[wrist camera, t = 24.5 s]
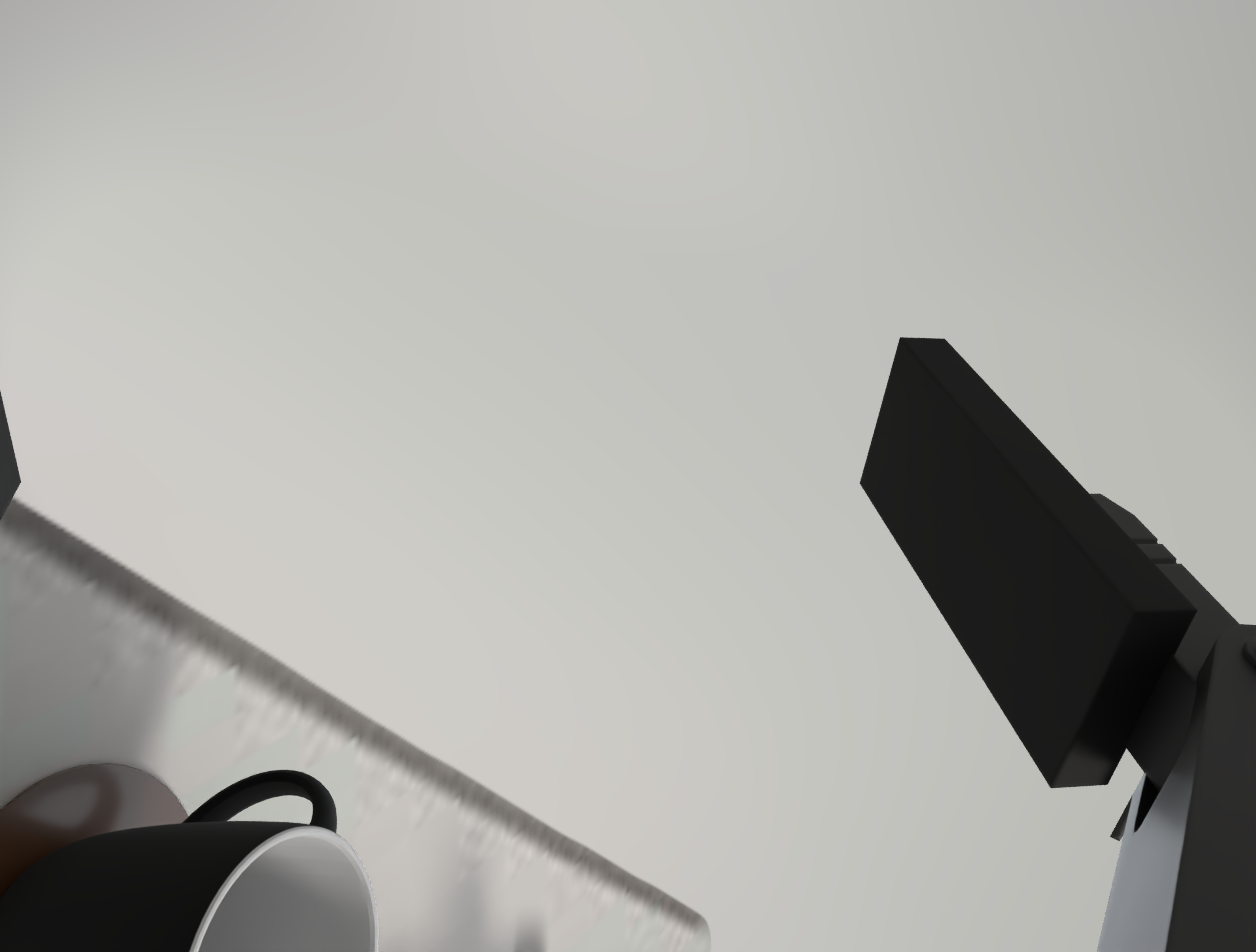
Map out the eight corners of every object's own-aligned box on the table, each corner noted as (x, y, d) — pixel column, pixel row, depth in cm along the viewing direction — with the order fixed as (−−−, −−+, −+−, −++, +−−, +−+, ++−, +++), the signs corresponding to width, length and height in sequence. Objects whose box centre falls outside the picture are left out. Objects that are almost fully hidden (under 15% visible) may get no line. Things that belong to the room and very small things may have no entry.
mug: (42, 1145, 36) (280, 1205, 32) (-135, 996, 31) (118, 1044, 27) (242, 841, 45) (447, 858, 41) (129, 691, 40) (347, 693, 36)
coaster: (-84, 809, 33) (-79, 809, 33) (192, 735, 43) (196, 735, 43) (-72, 1175, 32) (-67, 1176, 32) (204, 1013, 43) (208, 1014, 42)
